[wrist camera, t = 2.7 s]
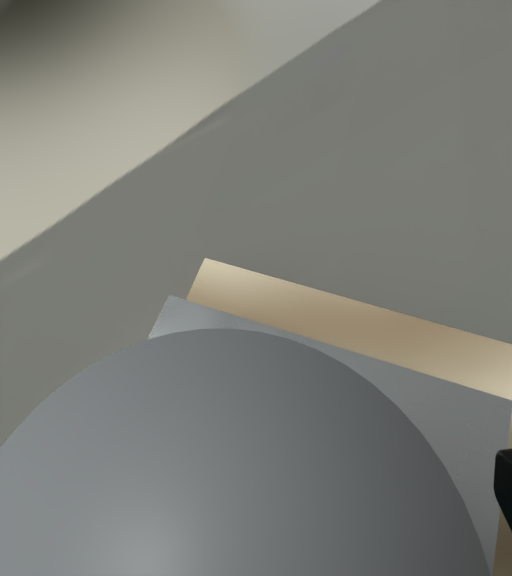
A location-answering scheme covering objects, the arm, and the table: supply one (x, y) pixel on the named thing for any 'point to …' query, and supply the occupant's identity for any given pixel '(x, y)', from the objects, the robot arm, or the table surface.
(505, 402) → the square metal frame plate
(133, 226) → the table surface
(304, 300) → the birch board
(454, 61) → the table surface
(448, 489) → the teal dowel
